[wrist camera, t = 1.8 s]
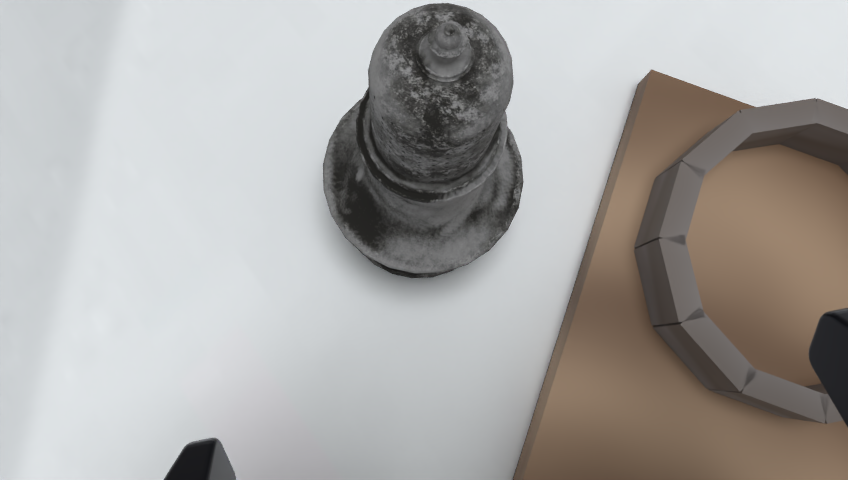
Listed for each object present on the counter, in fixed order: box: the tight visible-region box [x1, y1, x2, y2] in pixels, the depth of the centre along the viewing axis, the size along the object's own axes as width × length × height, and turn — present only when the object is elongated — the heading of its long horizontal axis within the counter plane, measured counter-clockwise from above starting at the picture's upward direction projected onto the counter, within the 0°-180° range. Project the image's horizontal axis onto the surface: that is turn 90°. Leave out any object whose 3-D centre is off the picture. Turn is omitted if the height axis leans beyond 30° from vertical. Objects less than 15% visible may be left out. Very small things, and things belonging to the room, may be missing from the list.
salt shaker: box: [323, 3, 523, 278], centre depth 16 cm, size 6×6×12 cm
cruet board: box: [513, 70, 848, 480], centre depth 20 cm, size 18×14×3 cm
